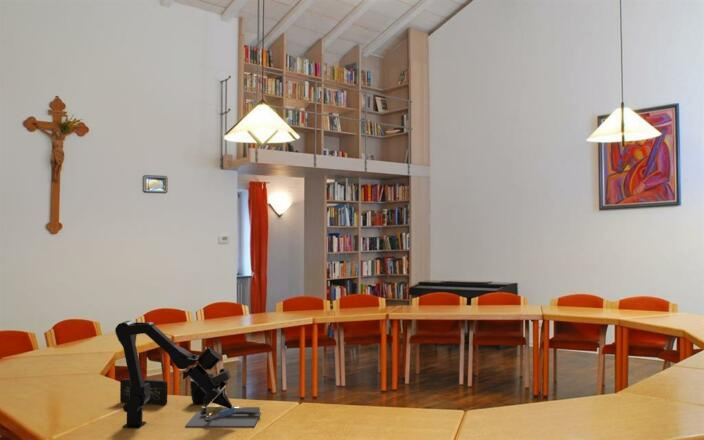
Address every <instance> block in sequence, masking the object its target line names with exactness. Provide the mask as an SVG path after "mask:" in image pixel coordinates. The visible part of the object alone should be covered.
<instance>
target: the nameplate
mask: <svg viewBox="0 0 704 440" xmlns="http://www.w3.org/2000/svg"><path fill="white" fill-rule="evenodd" d="M143 380H144V382H145V383H146V384H147V383H149V384H150V390H151V392H152V393H151V394H150V398H149V400H148V401H147V402H146V403H145V405H152V406H153V405H154V406H165V405H167V404H168V381H167V380H162V379H161V380H160V379H159V380H158V379H156V380H155V379H143ZM119 388H120V390H119V391H120V394H119V400H120V403H121V404H126V403H127V402H128V401H129V391H130V378H123V379H121V380H120V387H119Z"/></svg>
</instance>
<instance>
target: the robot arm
mask: <svg viewBox="0 0 704 440" xmlns="http://www.w3.org/2000/svg"><path fill="white" fill-rule="evenodd" d="M141 334H142V335H143V334H145V335H146V336H147V337H148V338H150V339H151V340H152V341H153V342H154V343H156V345H158V346H159V347H160V348H161V349H162V350H163V351H164V352H165V353H166V354H167V355H168V357H169V358H170V361H172V363H173V364H174V365H175V367H176V368H177V369H179V370H183V371H182V379H183V380H185V379H186V378H188V377H189V378H190V380H191V379H192V380H193V381H194V382H195V383H196V384H197V385H198V388H199V389H200V388H201V389H202V390H203V391H204V392H205V393H206V394H205V395H206V396H205V397H204V399H203V403H204V404H203V405H205V407H207V405H208V404H218V405H221V407H227V408H229V409H230V408H232V407H233V404H232V402H231V401H230V399H229V398H228V396H227V393H226V391H227V387H226V385H227V384H228V380H230V378H231V375H230V371H229V370H228V369H226V368H224V367H223V368H221V369H219V372H218V373H217V374H215V375H214V374H213V373H209V372H208V371H207V370H209V371H211V370H212V369H214V367H215V366H216V365H217V364H218V363H219V362H220V361H221V360H222V356H221V355H220V353H219V352H218V351H216V350H214V349H213V348H211V347H210V346H208V347H206V348H205V350H204V352H202V353H201V355H197V354H193V353H192V352H190V351H189V350H187V349H185V348H184V347H182V346H179V345H177V344H176V343H175V342H174V341H173V340H172V339H171V338H169V337H168V335H166V334H165V333H164V332H163V331H161V330H160V328H158V327H157V326H156V325H155V324H154V322H152V321H148V322H144V321H143V322H142V321H140V322H134V321H132V320H126V321H123V322H121V323H119V324H117V325H116V326H115V335H116V337H117V340H118V342H119V343H120V344H121V346H122V348H123V353H124V357H125V362H126V364H125V365H126V368H127V372H128V377H129V378H128V379H130V391H129V401H128V402H127V403H124V405H123V406H122V408H123V411H124V413H126V423H125V424H124V425H122V428H130V429H131V428H133V429H134V428H135V429H139V428H141V427H142V426H144V425H146V424H147V421H143V416H144V415H143V409H144V408H143V407H145V405H146V404H145V403H146V402H147V401H148V400H149V398H150V394H151V393H152V392H151V390H150V384H149V383H147V384H146V383H145V382H144V380H145V379H143V373H142V369H141V364H140V359H139V354H138V350H137V349H138V348H137V345H136V341H137V335H141ZM196 363H197V364H196ZM186 369H187V370H186Z"/></svg>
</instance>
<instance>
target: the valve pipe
mask: <svg viewBox="0 0 704 440" xmlns="http://www.w3.org/2000/svg"><path fill="white" fill-rule="evenodd" d="M225 409H228V408H227V407H224V406H221V405H218V404H215V403H209V404H208V405H207V406H206V405H205V406H203V405H202V406H201V405H200V410H199V412H200V414H201V415H204V414H206V416H213V415H215V414H218V413H219V412H220V411H222V410H225ZM235 409H236V413H233V414H248V417H254V416H255V414H260V412H261V408H260V406H235ZM233 414H230V415H227V416H225V417H232V415H233ZM219 417H220V416H219Z"/></svg>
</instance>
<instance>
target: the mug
mask: <svg viewBox="0 0 704 440" xmlns="http://www.w3.org/2000/svg"><path fill="white" fill-rule="evenodd" d="M189 385H190V397H191V401H192V403H193V404H194V405H199V406H201V405H202V406H203V405H205V404H204V403H203V399H204V397H205V396H206V395H205V394H206V393H205V392H204V391H203V390H202V389H201V388H200V389H199V388H198V385H197V384H196V383H195V382H194V381H193V380H192V379H191V378H190V384H189Z"/></svg>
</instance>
